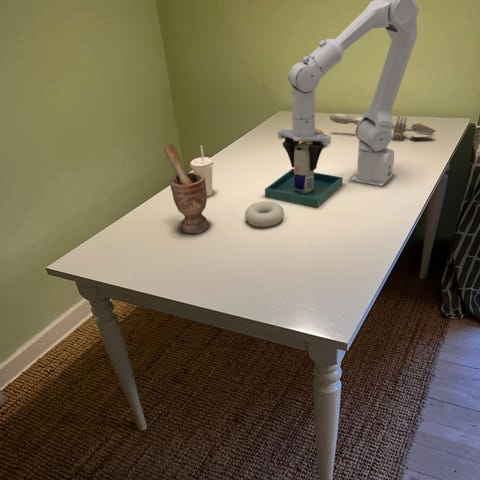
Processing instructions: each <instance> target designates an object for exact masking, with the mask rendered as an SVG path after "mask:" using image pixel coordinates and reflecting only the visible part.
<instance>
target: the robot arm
mask: <svg viewBox="0 0 480 480" xmlns="http://www.w3.org/2000/svg"><path fill="white" fill-rule="evenodd" d="M419 12H420V8H419V6H418V4H417V2H416V0H372V1H370V3H369V4H368V6H366V8H365V9H364V10H363V11H362V12H361V13H360V14H359V15H358V16H357V17H356V18H355V19H354V20H353V21H352V22H351V23H350V24H349V25H348V26H347V27H346V28H345V29H343V31H342V32H341V33H340V34H339V35H338V36H337V37H335V38H327V39H326V40H324V39H322V40H321V41H320V42H319V43H318V45H319V46H318V47H316V48H315V50H313V52H311V53H310V54H309V55H305V56H304V57H303V58H302V61H300V62H297V63H295V64H294V65H292V67H291V68H290V71H289V75H288V76H287V80H288V83H289V84H290V85H291V116H292V117H291V118H292V119H291V120H292V129H283V128H282V129H280V130H278V132H277V139H278V140H283V139H284V141H283V142H282V147H283V148H284V150H285V151H286V154H287V155H288V159H289V163H290V164H291V168H292V169H294V149H295V146H297V145H299V141H305V142H312V144H311V145H310V146H308V150H309V154H310V170H311V171H313V170H314V171H315V170H316V169H317V166H318V162H319V159H320V155H321V153H322V151H323V149H324V147H327V146H329V145H330V144H331V137H332V136H331V135H329V134H325V133H324V134H322V133H319V132H316V131H315V129H316V89H317V88H318V86H319V83H320V80H321V79H322V78H323V77H324V76H325V75H326V74H327V73H328V72H330V71H331V70H332V69H333V68H334V67H335V66H337V64H339V63H340V62H341V61H342V60H343V56H344V52H345V51H346V50H347V49H349V48H350V47H351V46H353V44H355V43H356V42H357V41H359V40H360V39H361V38H363V37H364V36H365V35H366V34H367V33H369V32H370V31H371V30H373V29H383V28H384V29H385V30H386V32H387V35H388V36H389V38H390V40H391V42H390V45H389V48H388V51H387V55H386V57H385V60H384V64H383V67H382V70H381V73H380V77H379V79H378V82H377V86H376V88H375V93H374V95H373V98H372V101H371V104H370V107H369V108H368V109H367V110H365V111H364V112H363V115H362V116H361V117H362V119H361V121H360V122H359V123H358V125H356V127H355V130H354V131H355V137H356V138H357V140H358V151H357V164H356V165H357V167H356V174H355V175H354V176H352V178H351V179H350V181H351V182H357V183H362V184H368V185H374V186H380V187H383V186H385V184H386V183H388V181H389V180H390V179H391V178H392V177H393V176H394V174H393V170H394V163H395V151H394V149H391V148H388V146H389V145H390V143H391V141H392V139H393V133H392V131H393V129H392V126H393V125H394V120H393V116H392V111H393V107H394V104H395V101H396V98H397V96H398V93H399V90H400V87H401V84H402V81H403V78H404V76H405V72H406V69H407V67H408V64H409V60H410V58H411V55H412V52H413V49H414V47H415V43H416V40H417V37H418V25H417V24H418V23H417V21H418V20H417V17H418V14H419ZM324 145H325V146H324Z"/></svg>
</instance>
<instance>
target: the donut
mask: <svg viewBox="0 0 480 480" xmlns="http://www.w3.org/2000/svg"><path fill="white" fill-rule="evenodd" d="M284 216H285V213H284V208H283V207H282V206H281V205H280V204H279V203H277V202H274V201H267V200H265V201H258V202H254V203H252V204H251V205H249V206H248V207H247V209H246V210H245V212H244V217H245V220H246V222H247V223H249V224H250V225H252V226H254V227H259V228H260V227H261V228H265V227H272V226H274V225H277V224H279V223H280V222H281V221H282V220H283V217H284Z"/></svg>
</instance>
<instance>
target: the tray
mask: <svg viewBox="0 0 480 480" xmlns="http://www.w3.org/2000/svg"><path fill="white" fill-rule="evenodd" d="M343 179H344V178H343V177H342V176H339V175H338V176H337V175H331V174H326V173H320V172H315V171H314V189H313V190H312V191H311V192H310V193H305V194H301V193H297V192H296V191H295V189H294V168H291V169H290V170H289V171H287V172H286V173H284V174H283V175H282V176H280V177H279V178H277V179H276V180H274V182H272V183H271V184H270V185H268V186H267V187H265V188H264V197H265V198H270V199H273V200H278V201H283V202H288V203H292V204H297V205H302V206H305V207H306V206H307V207H311V208H315V209H318V208H319V207H320V206H321V205H322V204H323V203H325V201H327V200H328V199H329V198H331V196H332V195H334V193H336V192H337V191H338V190H340V188H341V187H342V186H343V181H344V180H343Z"/></svg>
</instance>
